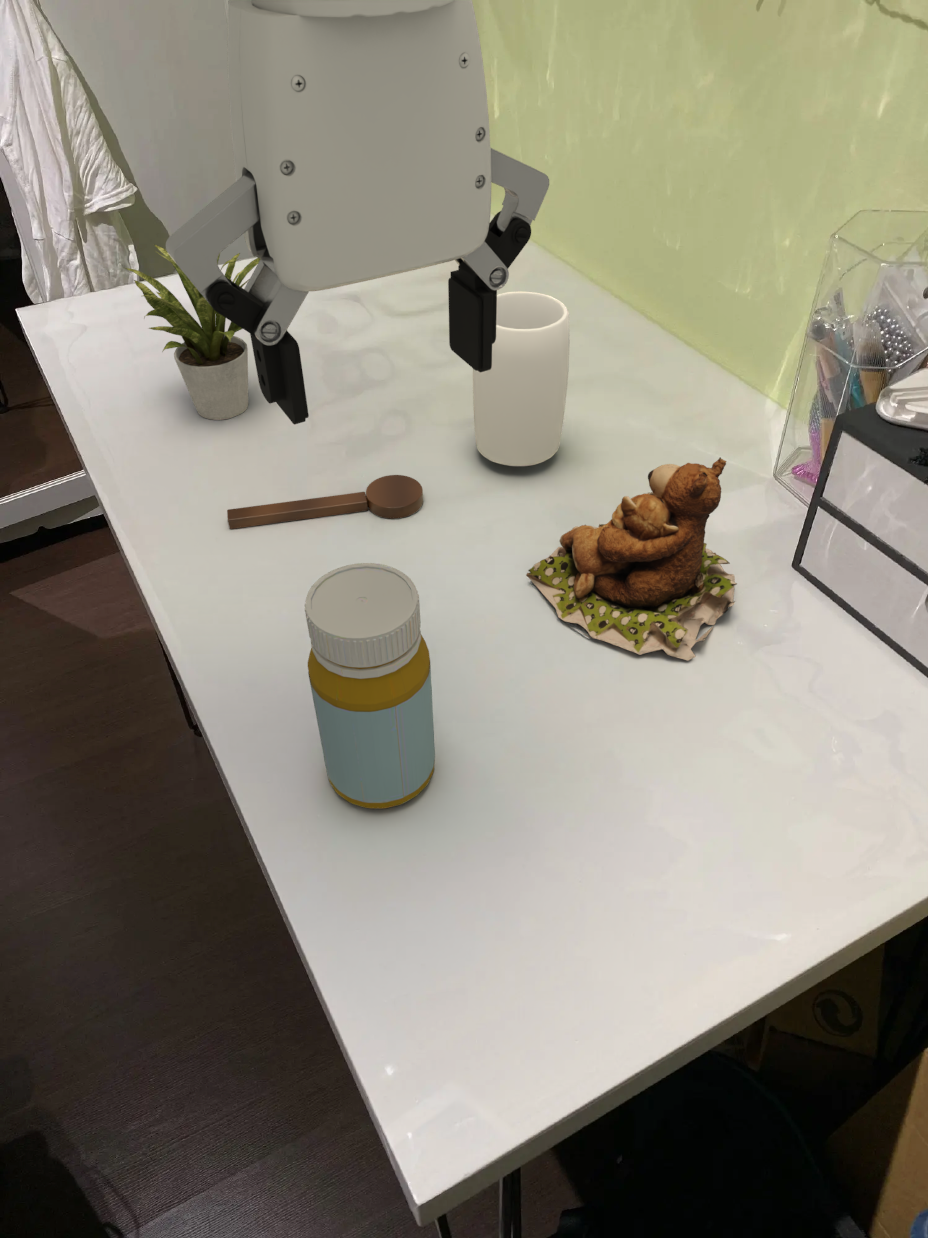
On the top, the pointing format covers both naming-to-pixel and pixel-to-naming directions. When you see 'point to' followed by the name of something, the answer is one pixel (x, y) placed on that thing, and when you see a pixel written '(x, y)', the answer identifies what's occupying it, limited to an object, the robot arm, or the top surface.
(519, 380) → the cup
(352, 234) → the robot arm
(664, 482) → the bear figurine
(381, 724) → the bottle
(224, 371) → the house plant
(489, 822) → the top surface
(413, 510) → the spoon
